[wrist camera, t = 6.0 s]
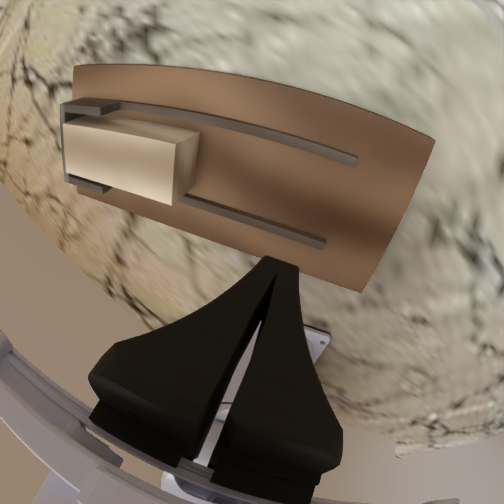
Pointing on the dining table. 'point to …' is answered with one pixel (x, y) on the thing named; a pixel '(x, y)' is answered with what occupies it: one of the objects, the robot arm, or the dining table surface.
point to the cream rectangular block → (132, 155)
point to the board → (266, 165)
